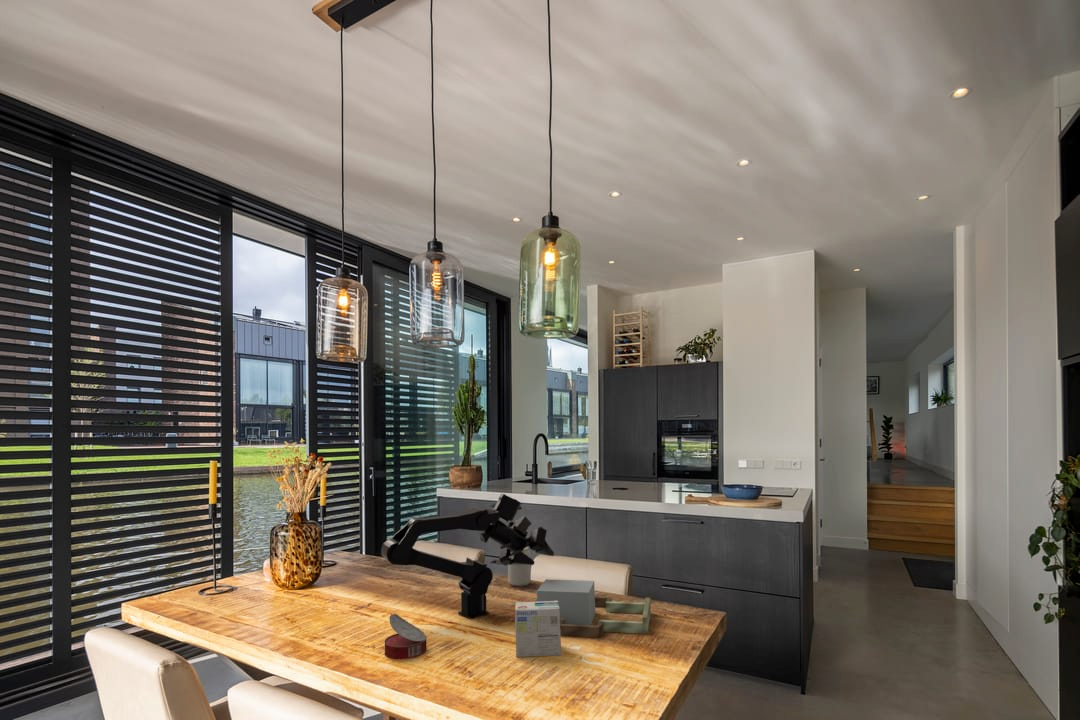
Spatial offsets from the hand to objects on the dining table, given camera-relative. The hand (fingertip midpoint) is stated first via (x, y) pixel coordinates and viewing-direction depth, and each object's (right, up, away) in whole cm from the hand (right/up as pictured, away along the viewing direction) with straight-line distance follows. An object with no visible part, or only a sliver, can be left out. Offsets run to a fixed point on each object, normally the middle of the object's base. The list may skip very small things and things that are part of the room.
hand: (543, 558), depth 185 cm
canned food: (-33, -10, -39) cm, 52 cm away
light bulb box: (-2, -9, -41) cm, 42 cm away
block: (+6, -11, -18) cm, 22 cm away
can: (-8, -15, +19) cm, 25 cm away
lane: (+13, -10, -19) cm, 26 cm away
